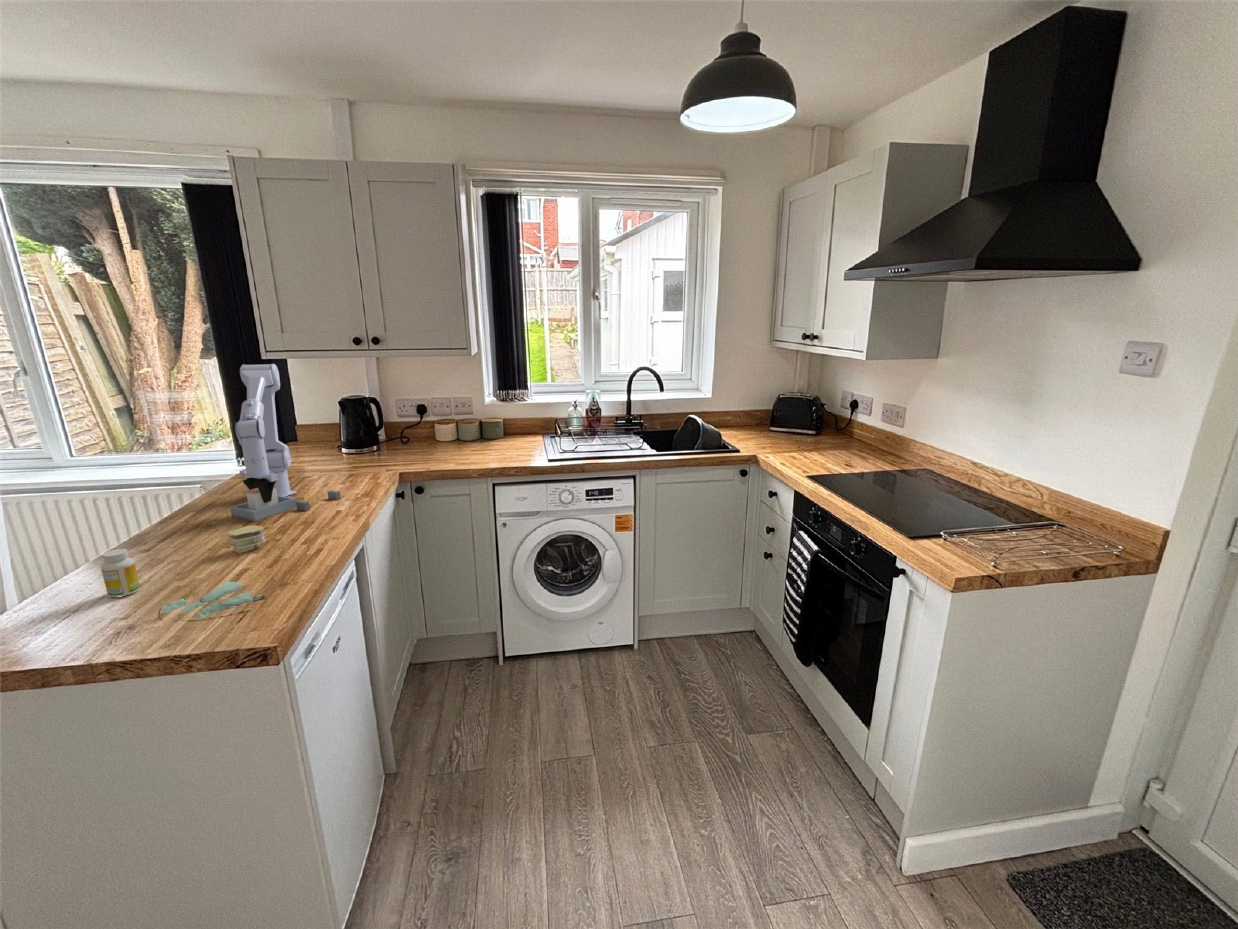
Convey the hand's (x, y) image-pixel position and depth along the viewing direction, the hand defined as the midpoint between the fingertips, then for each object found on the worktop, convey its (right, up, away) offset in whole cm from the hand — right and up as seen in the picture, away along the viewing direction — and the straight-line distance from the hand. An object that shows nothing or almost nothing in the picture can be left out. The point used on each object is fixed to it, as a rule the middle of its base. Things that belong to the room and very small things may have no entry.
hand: (263, 500), depth 169 cm
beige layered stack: (+14, -11, -26) cm, 31 cm away
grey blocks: (+13, -1, +8) cm, 15 cm away
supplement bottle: (+2, -17, -49) cm, 52 cm away
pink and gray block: (0, -1, 0) cm, 1 cm away
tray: (0, -3, +1) cm, 4 cm away
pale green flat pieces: (+26, -19, -52) cm, 62 cm away
